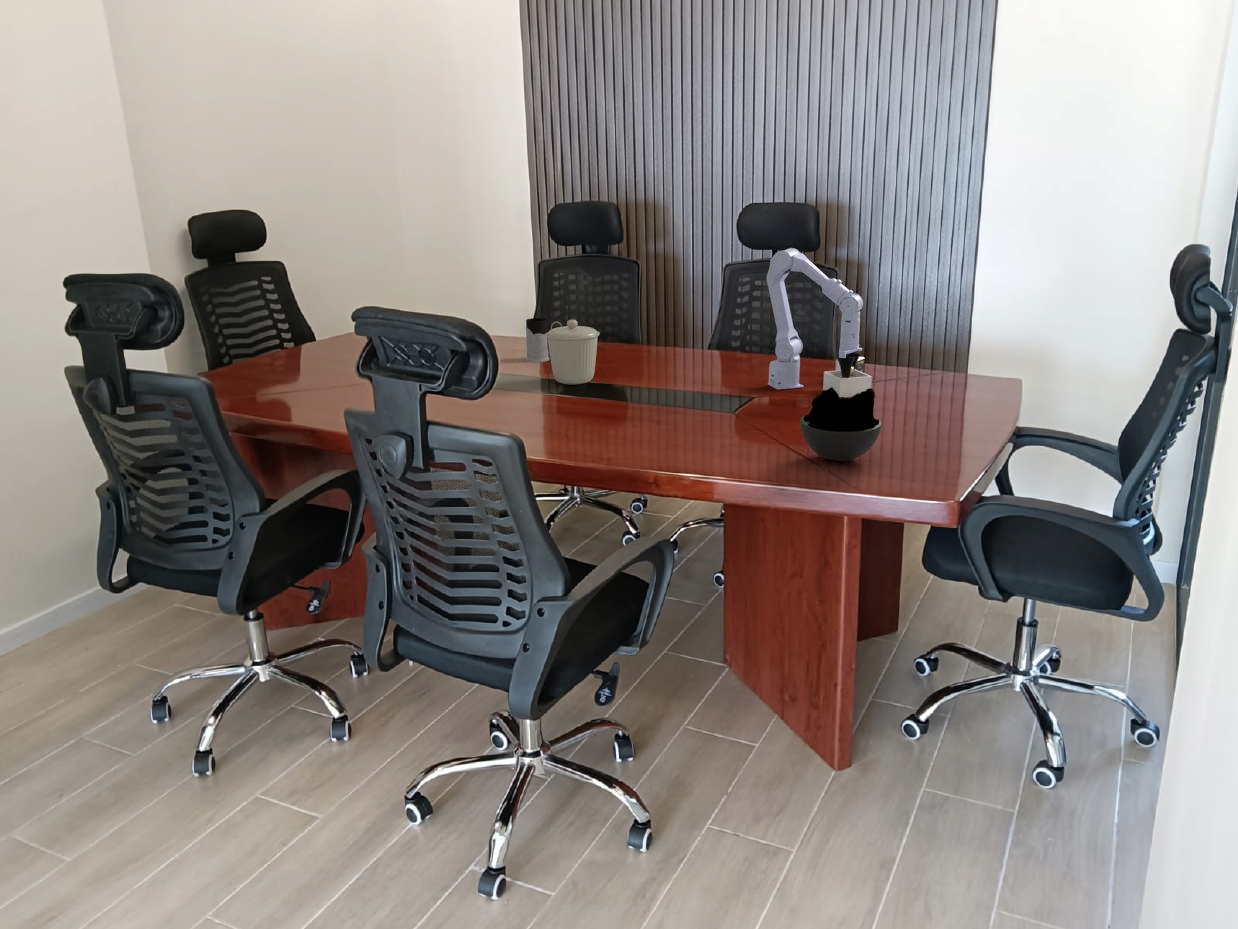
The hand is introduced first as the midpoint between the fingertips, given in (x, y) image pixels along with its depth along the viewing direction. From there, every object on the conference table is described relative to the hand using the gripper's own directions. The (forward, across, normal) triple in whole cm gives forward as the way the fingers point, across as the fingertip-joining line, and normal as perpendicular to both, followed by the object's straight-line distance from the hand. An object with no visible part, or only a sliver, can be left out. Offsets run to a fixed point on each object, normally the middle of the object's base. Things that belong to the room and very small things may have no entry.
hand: (847, 376), depth 319 cm
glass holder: (+5, +1, +116) cm, 116 cm away
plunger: (+2, 0, 0) cm, 2 cm away
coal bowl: (+6, -69, -19) cm, 71 cm away
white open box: (+5, 0, 0) cm, 5 cm away
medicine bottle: (+6, +19, +5) cm, 21 cm away
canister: (+5, -25, +87) cm, 91 cm away
